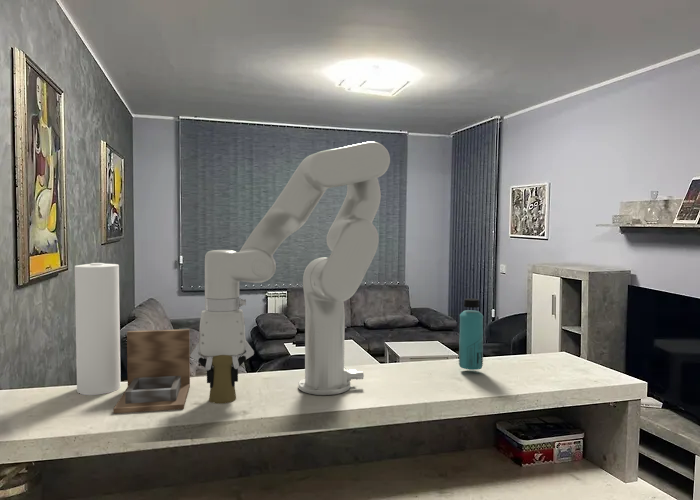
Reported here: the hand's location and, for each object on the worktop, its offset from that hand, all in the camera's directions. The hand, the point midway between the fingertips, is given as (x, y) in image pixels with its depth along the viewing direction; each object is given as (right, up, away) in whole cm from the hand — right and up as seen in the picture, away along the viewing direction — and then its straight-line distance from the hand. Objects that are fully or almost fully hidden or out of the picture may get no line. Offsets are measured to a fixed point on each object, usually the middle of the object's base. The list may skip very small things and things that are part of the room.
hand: (222, 384), depth 119 cm
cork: (0, -4, 0) cm, 4 cm away
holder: (-15, -3, 0) cm, 16 cm away
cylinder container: (-31, -3, +7) cm, 32 cm away
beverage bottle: (+61, -3, +24) cm, 66 cm away
